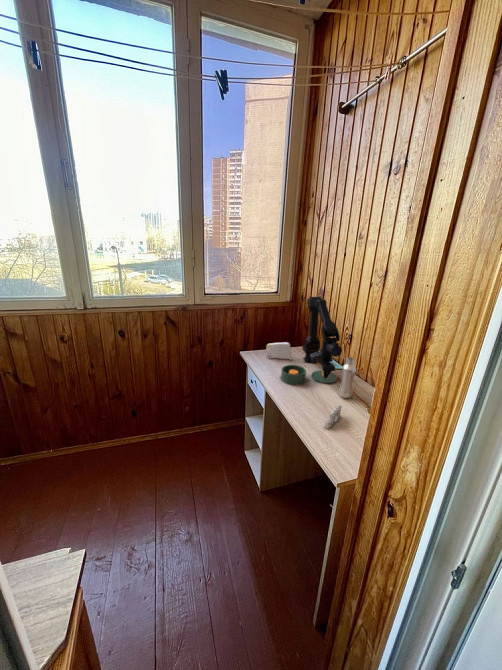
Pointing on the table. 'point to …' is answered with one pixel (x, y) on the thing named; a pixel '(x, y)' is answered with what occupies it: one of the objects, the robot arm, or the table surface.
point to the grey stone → (333, 416)
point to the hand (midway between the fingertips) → (324, 375)
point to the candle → (293, 372)
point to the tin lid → (320, 377)
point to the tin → (293, 378)
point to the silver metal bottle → (347, 378)
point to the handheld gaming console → (278, 350)
